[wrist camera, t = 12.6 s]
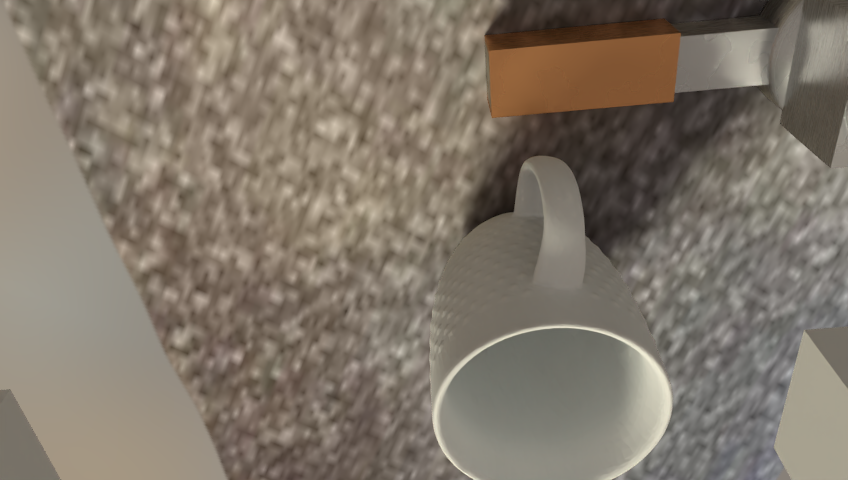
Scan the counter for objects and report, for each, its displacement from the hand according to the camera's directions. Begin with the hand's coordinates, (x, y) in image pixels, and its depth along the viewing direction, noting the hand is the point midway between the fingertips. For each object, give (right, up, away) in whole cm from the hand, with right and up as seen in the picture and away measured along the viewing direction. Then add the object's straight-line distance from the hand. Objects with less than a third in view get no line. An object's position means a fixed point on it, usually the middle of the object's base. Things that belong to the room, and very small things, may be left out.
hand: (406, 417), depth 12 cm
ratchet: (+14, +13, +24) cm, 30 cm away
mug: (+6, +3, +30) cm, 31 cm away
